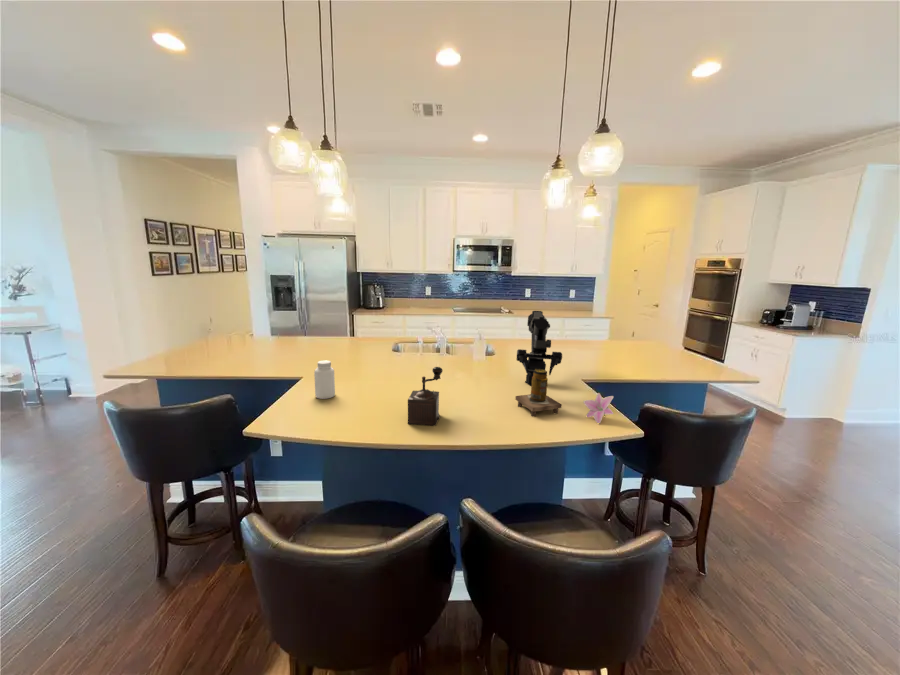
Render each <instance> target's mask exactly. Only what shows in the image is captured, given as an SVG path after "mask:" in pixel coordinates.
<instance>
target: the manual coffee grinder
mask: <svg viewBox="0 0 900 675" xmlns="http://www.w3.org/2000/svg"><path fill="white" fill-rule="evenodd" d="M432 373H433V378H427V379H426V376H421V382H422V389H420V390H412V392H411V394H410V396H409V397H408V398H407V424H408V425H414V426H431V427H436V426H437V424H438V422H439V420H440V414H439V410H440V409H439V408H440V404H439V403H440V402H439V401H440V391H436V390H435V391H434V390H429V389H426V383H427V382H432V381H438V380H441V374H442V373H443V369H442V367H440V366H434V367H433V368H432Z"/></svg>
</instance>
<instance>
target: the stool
mask: <svg viewBox="0 0 900 675" xmlns="http://www.w3.org/2000/svg"><path fill="white" fill-rule="evenodd" d="M527 395H531V393H530V394H522V395H515V398H514V400H516V401H517V407H519V408H523V406H524V407H526V408H527V409H528V410H529V411H530V417H532V418H534V417H535V418H536V416H537V412H541V411H548V410H552V413H553V414H554V413H557V414H558V412H559V409H562V407H563V406H562V403H560V402H559V401H556V400H555V399H554V398H552V397H551V396H549V395H547V394H546V399H547V400H548V402H549V404H537V403H531V402H530V400H529V398H528V396H527Z"/></svg>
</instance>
